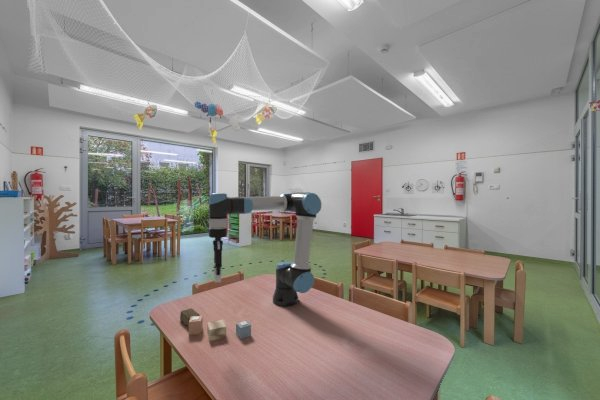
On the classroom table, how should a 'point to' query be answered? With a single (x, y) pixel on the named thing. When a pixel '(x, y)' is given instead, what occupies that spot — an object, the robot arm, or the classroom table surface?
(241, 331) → the slate block
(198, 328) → the terracotta block
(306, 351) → the classroom table surface
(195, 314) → the stone block
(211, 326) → the oak block
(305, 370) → the classroom table surface
